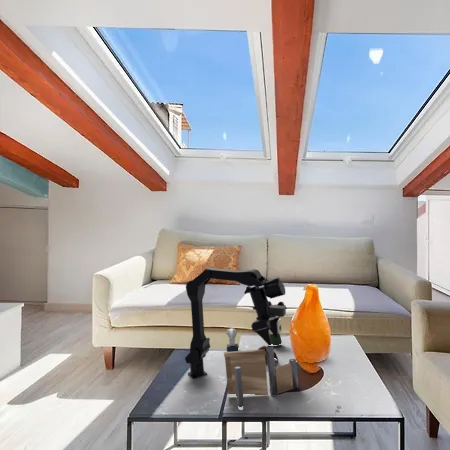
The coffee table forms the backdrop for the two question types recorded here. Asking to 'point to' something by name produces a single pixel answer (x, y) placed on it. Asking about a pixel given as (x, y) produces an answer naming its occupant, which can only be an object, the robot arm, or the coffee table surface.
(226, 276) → the robot arm
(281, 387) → the gate frame
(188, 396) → the coffee table surface
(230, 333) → the grey bust figurine
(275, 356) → the pottery mug
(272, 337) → the character mug
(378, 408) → the coffee table surface
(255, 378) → the gate
